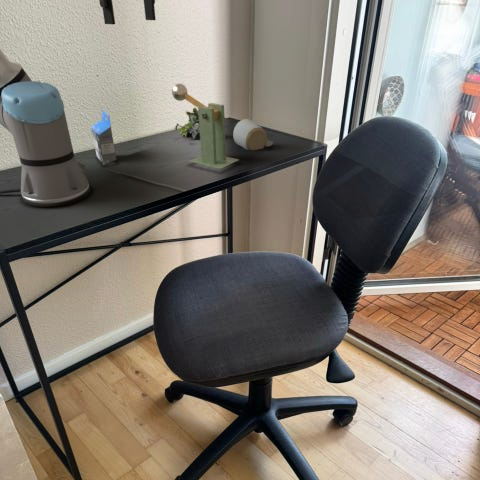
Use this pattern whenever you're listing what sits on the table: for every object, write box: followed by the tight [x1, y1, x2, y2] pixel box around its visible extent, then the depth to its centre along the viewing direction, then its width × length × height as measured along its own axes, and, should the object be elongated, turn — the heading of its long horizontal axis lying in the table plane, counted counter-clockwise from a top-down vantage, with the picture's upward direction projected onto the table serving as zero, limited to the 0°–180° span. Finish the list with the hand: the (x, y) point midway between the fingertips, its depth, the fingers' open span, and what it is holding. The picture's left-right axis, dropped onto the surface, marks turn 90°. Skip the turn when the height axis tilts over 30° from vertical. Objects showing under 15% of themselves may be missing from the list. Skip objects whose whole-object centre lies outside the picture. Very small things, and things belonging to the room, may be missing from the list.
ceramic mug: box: [232, 118, 274, 151], centre depth 135 cm, size 11×8×8 cm
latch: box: [171, 83, 219, 120], centre depth 120 cm, size 14×4×4 cm, turn 54°
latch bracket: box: [188, 102, 240, 170], centre depth 122 cm, size 11×8×15 cm
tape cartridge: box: [90, 109, 117, 166], centre depth 127 cm, size 9×4×12 cm, turn 27°
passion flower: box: [174, 107, 200, 141], centre depth 143 cm, size 11×11×12 cm
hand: (131, 22), depth 114 cm, fingers open, 13 cm apart
